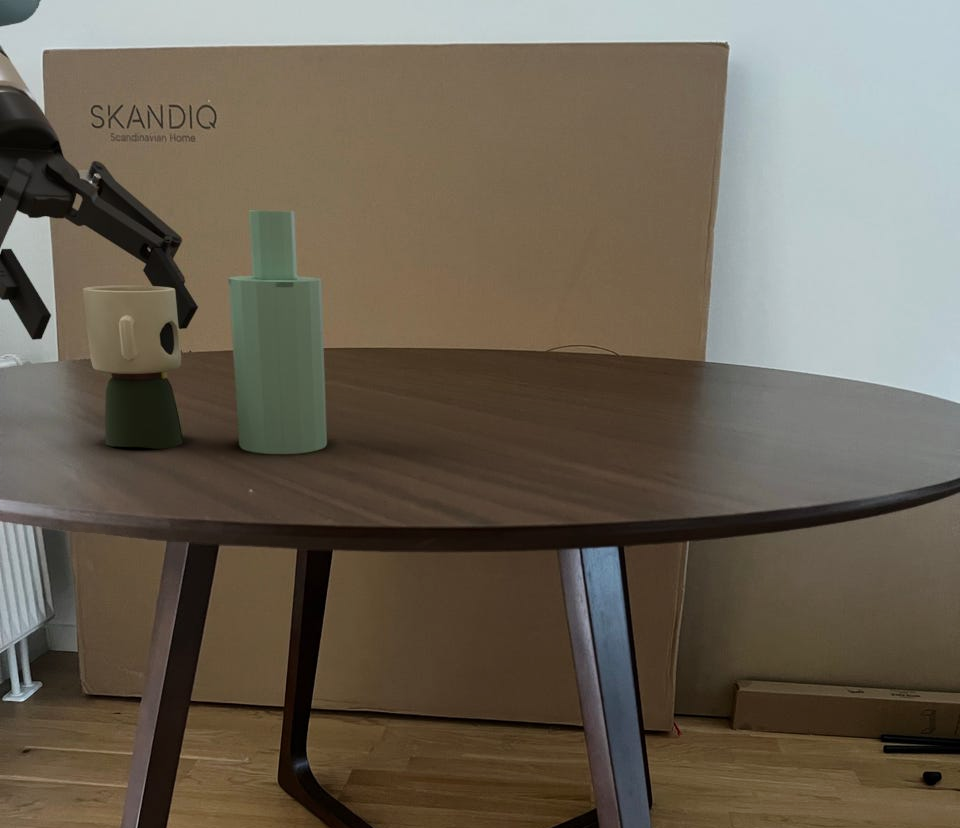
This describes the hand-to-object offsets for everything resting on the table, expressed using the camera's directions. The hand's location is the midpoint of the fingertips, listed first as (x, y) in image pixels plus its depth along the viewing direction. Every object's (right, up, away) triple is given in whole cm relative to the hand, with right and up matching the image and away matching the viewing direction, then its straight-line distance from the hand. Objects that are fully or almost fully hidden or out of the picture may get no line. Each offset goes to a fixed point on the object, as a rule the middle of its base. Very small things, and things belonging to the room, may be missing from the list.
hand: (119, 323), depth 84 cm
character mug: (+1, -10, +3) cm, 11 cm away
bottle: (+13, -10, +4) cm, 17 cm away
